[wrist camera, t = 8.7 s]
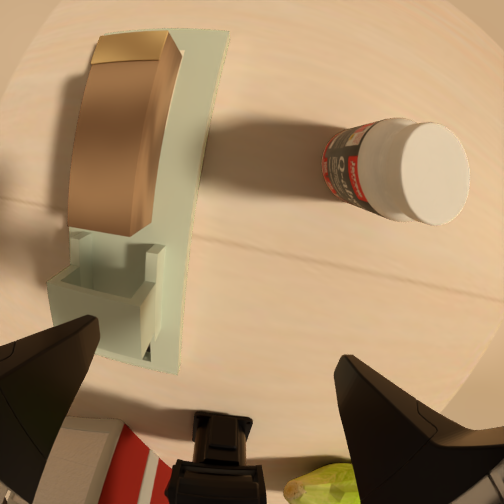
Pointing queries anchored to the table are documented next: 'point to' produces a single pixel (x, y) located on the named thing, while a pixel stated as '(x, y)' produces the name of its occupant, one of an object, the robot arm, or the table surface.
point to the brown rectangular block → (122, 132)
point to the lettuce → (324, 486)
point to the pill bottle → (399, 170)
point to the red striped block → (100, 467)
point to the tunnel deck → (150, 230)
